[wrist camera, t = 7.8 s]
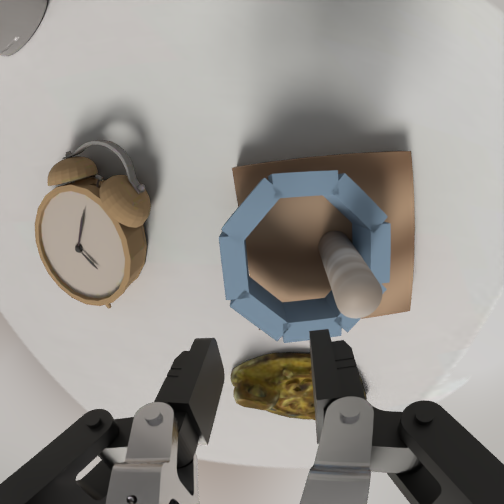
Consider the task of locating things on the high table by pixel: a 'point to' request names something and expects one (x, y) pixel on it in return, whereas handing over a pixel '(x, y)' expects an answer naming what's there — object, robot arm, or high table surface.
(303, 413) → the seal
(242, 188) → the wooden peg stand
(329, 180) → the rubber loop
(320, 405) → the robot arm
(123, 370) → the high table surface
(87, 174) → the alarm clock
